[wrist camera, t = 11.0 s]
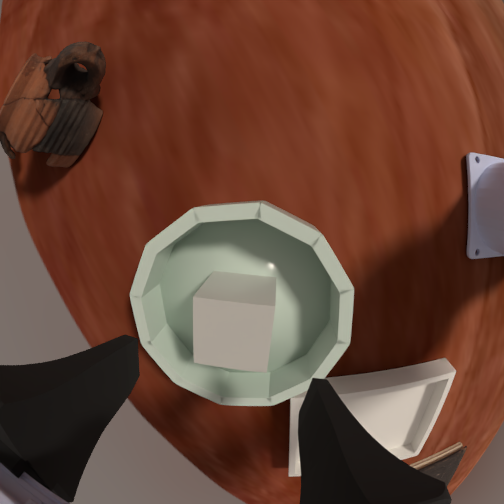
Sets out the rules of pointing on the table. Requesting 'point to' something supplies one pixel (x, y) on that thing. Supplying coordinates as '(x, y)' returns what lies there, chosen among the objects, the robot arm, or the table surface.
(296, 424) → the tray
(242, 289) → the block
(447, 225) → the table surface
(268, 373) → the bowl
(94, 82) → the pottery mug
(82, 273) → the table surface
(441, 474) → the hardcover book
